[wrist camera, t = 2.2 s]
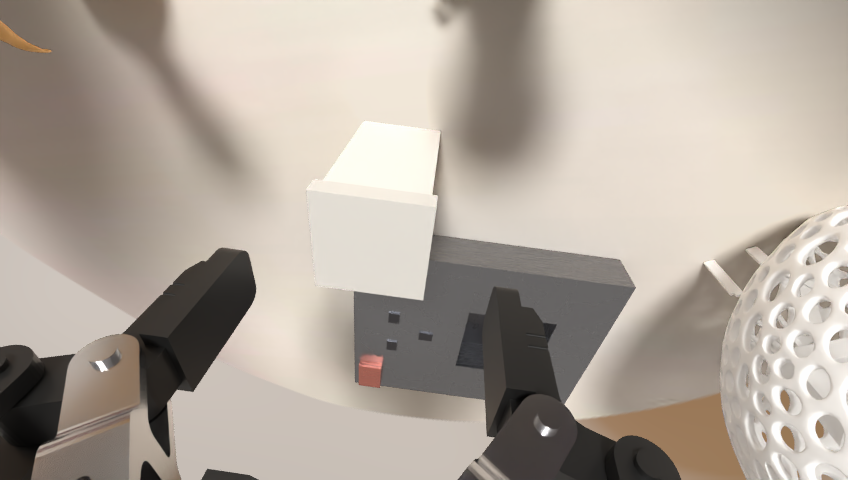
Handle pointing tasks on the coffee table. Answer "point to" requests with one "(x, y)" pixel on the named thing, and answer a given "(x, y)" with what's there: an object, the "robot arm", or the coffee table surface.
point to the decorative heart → (790, 356)
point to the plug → (376, 212)
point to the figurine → (18, 40)
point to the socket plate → (465, 310)
